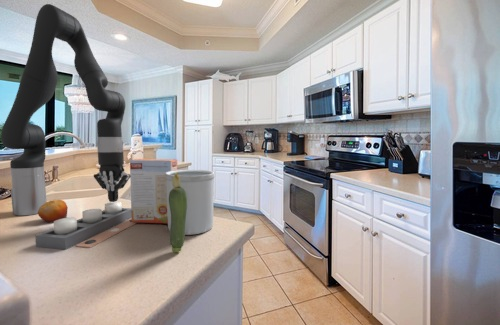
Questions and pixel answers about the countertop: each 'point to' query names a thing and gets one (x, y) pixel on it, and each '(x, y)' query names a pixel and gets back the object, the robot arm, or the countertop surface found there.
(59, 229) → the button
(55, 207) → the fruit
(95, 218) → the middle button
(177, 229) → the vegetable
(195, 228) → the utensil holder
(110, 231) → the pattern card
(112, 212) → the button
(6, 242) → the countertop surface
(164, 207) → the cracker box
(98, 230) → the button board
